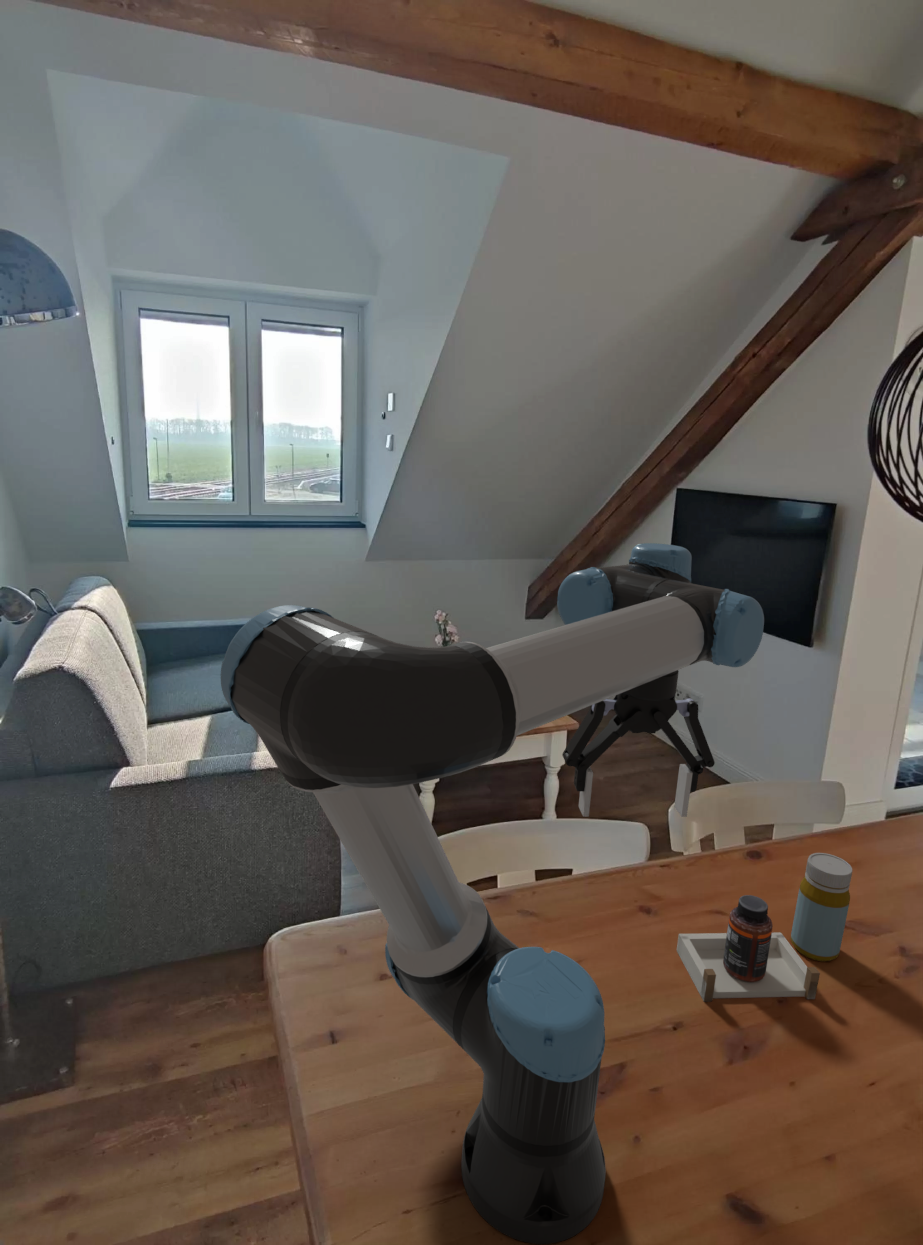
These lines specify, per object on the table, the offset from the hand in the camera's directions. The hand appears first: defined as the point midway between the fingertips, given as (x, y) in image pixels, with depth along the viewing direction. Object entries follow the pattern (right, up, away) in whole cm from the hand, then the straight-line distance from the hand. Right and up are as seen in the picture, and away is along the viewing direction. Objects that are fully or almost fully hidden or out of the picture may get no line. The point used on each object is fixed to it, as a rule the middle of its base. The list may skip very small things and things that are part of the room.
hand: (632, 812), depth 101 cm
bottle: (+32, -26, +15) cm, 44 cm away
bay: (+18, -26, +8) cm, 33 cm away
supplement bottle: (+18, -26, +8) cm, 32 cm away
